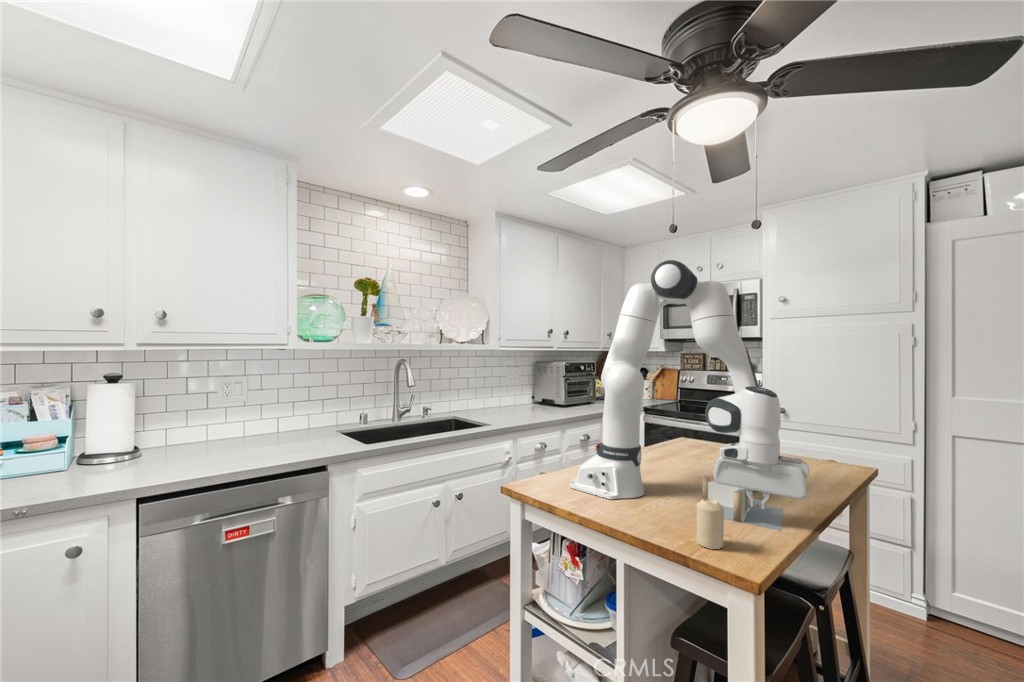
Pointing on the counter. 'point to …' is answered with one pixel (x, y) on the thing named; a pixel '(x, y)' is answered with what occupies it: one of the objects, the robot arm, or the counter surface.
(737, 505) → the fence panel
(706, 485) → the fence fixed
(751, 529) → the counter surface
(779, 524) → the board
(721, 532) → the candle
